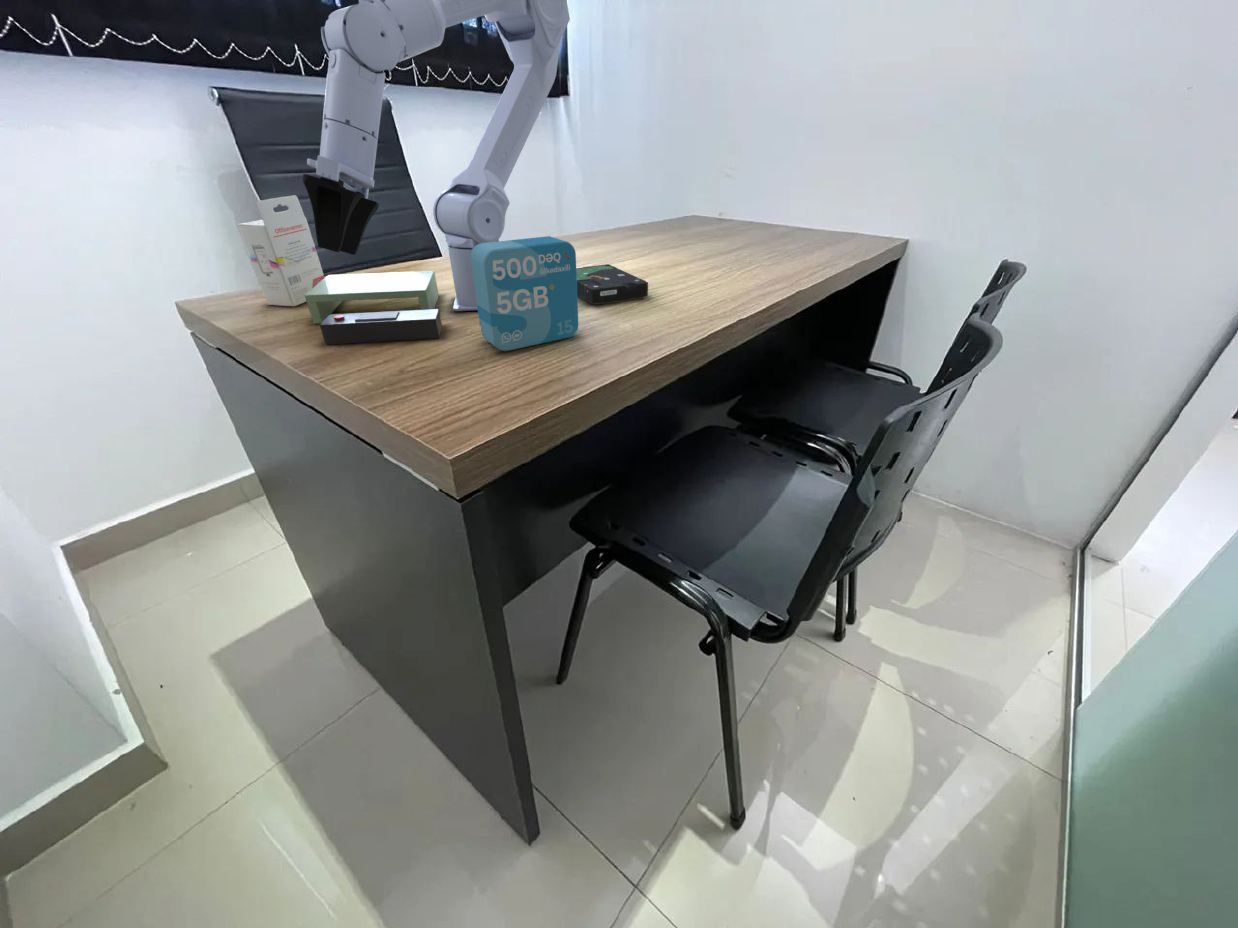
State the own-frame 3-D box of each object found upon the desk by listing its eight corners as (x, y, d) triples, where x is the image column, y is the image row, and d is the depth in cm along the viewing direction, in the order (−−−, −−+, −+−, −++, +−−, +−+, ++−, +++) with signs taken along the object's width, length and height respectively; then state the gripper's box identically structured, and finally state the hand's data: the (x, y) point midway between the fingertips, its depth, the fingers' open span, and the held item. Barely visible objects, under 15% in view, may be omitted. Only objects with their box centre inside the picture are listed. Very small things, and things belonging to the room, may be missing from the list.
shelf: (438, 295, 85) (434, 270, 83) (431, 317, 75) (425, 290, 73) (335, 300, 82) (328, 274, 80) (313, 324, 72) (304, 295, 70)
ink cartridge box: (304, 291, 87) (272, 193, 79) (330, 293, 86) (300, 194, 78) (265, 305, 80) (226, 200, 72) (293, 307, 79) (256, 201, 71)
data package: (495, 354, 63) (482, 250, 56) (481, 343, 66) (467, 244, 60) (579, 336, 69) (576, 240, 62) (563, 327, 72) (558, 234, 65)
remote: (442, 327, 71) (438, 306, 70) (439, 338, 68) (435, 316, 66) (335, 333, 69) (328, 312, 68) (325, 345, 65) (318, 322, 64)
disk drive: (649, 299, 84) (608, 278, 95) (650, 282, 83) (608, 262, 94) (592, 307, 80) (556, 284, 91) (592, 289, 79) (555, 268, 89)
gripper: (331, 134, 65) (320, 245, 69) (289, 97, 52) (278, 237, 56) (390, 153, 67) (377, 260, 71) (364, 123, 54) (349, 256, 58)
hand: (337, 251), depth 63 cm, fingers open, 7 cm apart
